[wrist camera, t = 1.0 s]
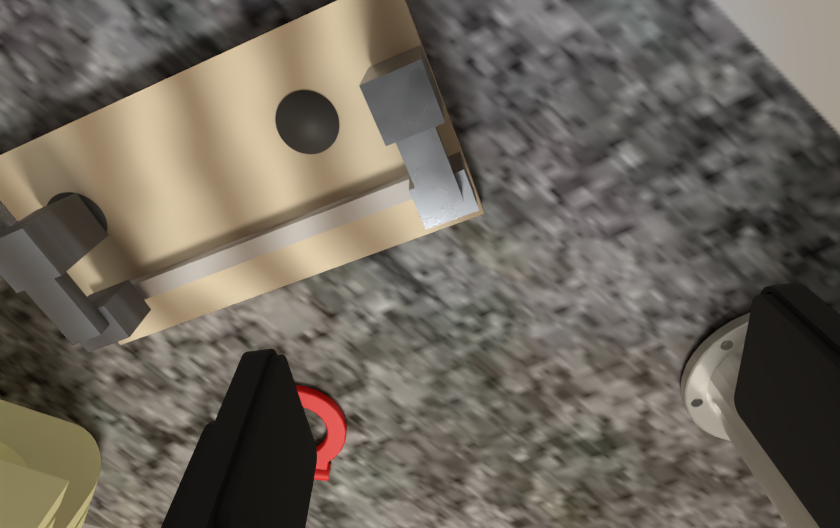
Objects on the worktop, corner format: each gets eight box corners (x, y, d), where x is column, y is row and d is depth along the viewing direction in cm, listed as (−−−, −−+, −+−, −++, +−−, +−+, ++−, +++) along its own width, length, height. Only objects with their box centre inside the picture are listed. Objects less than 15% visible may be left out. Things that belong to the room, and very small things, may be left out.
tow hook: (245, 374, 42) (241, 461, 46) (182, 517, 30) (184, 617, 34) (353, 388, 43) (340, 472, 47) (331, 533, 31) (317, 628, 35)
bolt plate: (395, -27, 28) (389, -25, 22) (481, 204, 35) (495, 255, 28) (-10, 159, 33) (-107, 203, 27) (130, 332, 39) (77, 399, 33)
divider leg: (420, 44, 28) (421, 59, 24) (472, 182, 32) (481, 218, 27) (368, 66, 29) (359, 85, 24) (425, 199, 33) (425, 237, 28)
